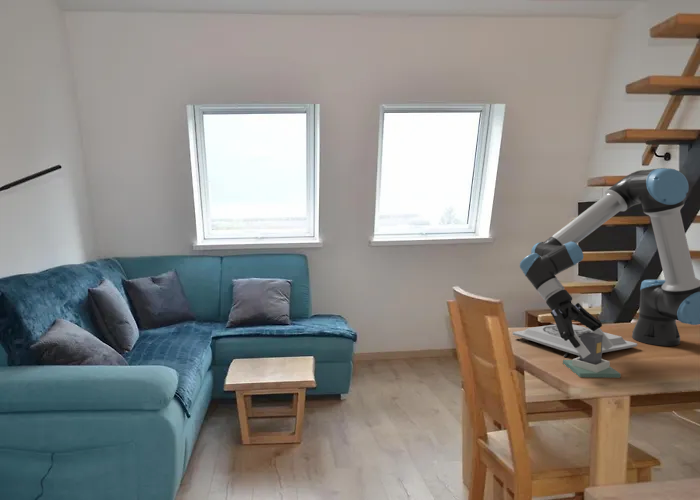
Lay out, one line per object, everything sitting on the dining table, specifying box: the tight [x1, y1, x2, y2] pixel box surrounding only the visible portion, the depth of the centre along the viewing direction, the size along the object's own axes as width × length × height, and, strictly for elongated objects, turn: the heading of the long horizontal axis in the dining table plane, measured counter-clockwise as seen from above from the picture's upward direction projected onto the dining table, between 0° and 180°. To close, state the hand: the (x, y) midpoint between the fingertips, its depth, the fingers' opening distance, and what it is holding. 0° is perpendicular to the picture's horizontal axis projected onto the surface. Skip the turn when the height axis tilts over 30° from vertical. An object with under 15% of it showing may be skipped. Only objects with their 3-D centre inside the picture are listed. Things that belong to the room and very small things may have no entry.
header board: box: [562, 356, 622, 379], centre depth 148 cm, size 12×12×3 cm
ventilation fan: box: [512, 323, 638, 357], centre depth 175 cm, size 30×6×30 cm
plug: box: [579, 332, 603, 365], centre depth 148 cm, size 4×5×10 cm
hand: (598, 351), depth 146 cm, fingers open, 13 cm apart
